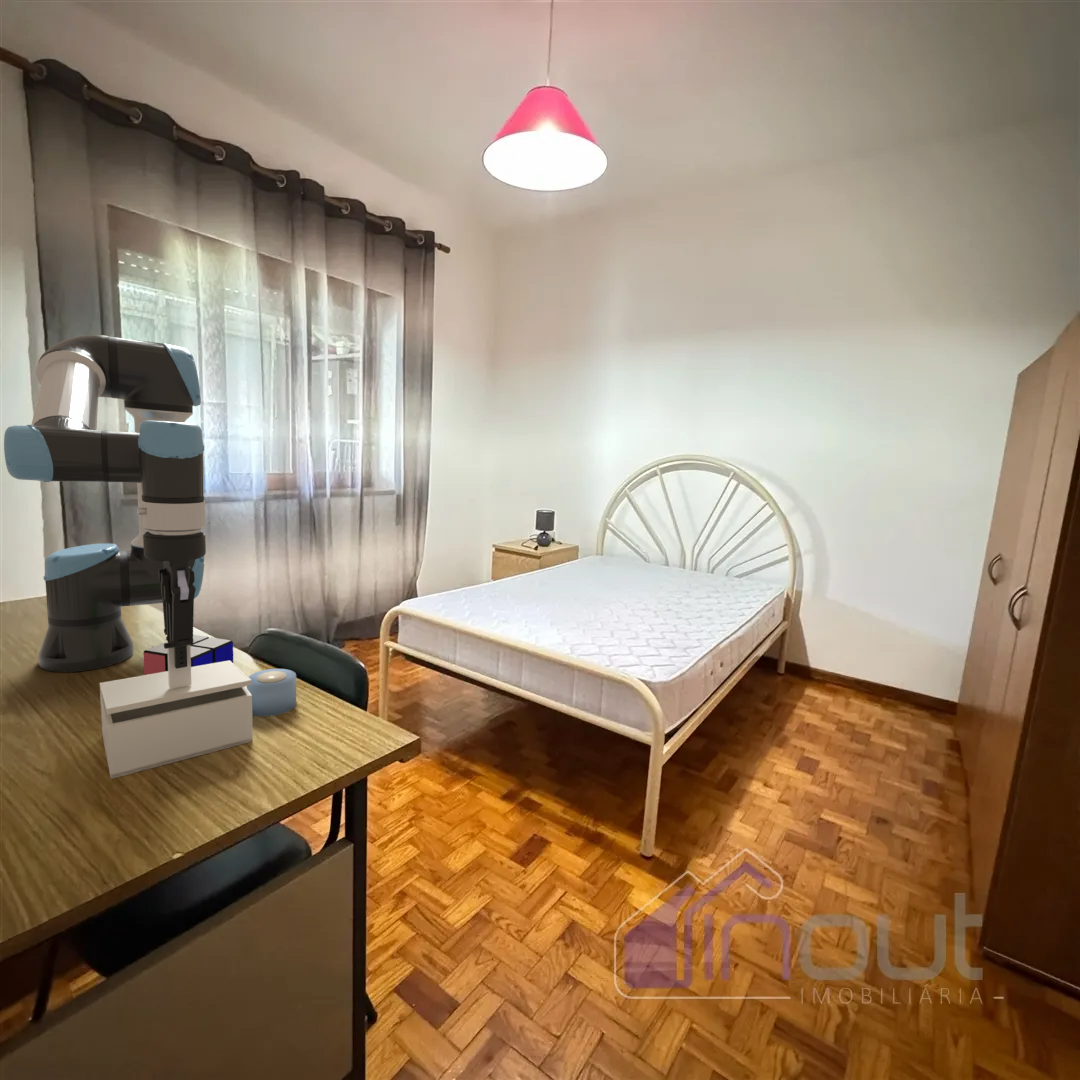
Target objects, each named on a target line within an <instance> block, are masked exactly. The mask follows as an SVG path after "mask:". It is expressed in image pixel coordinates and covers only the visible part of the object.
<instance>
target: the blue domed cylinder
mask: <svg viewBox="0 0 1080 1080" xmlns="http://www.w3.org/2000/svg"><path fill="white" fill-rule="evenodd" d="M248 677H249V678H250V679H251V680H252V685H249V686H246V688H247V689H248V691H249V692H250V693H251V695H252V716H255V717H275V716H279V715H284V714H286V713H288V712H290V711H291V710H293V709H294V708H295V707H296V706H297V674H296V672H295V671H293V670H291V669H286V668H271V669H263V670H261V671H260V670H259V671H257V672H253V673H251V675H249V676H248Z"/></svg>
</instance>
